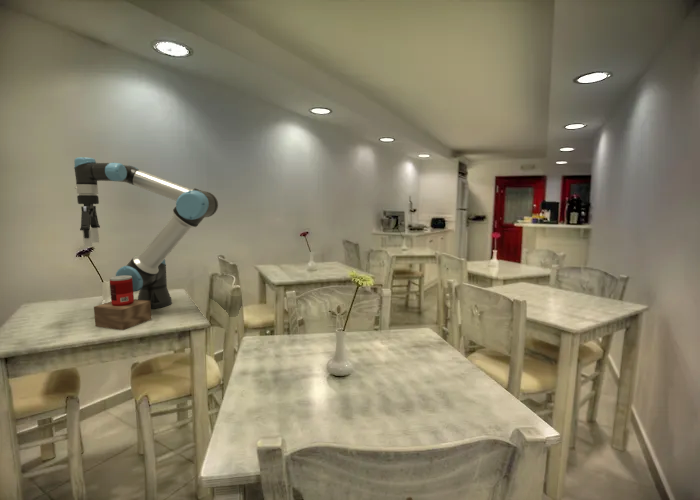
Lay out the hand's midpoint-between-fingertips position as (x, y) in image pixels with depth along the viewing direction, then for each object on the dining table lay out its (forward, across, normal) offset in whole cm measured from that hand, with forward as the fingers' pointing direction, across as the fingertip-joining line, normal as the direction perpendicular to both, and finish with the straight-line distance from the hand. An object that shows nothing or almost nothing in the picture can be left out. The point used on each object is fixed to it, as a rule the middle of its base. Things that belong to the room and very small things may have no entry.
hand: (91, 244), depth 165 cm
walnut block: (+31, +20, +13) cm, 39 cm away
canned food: (+23, +20, +13) cm, 33 cm away
